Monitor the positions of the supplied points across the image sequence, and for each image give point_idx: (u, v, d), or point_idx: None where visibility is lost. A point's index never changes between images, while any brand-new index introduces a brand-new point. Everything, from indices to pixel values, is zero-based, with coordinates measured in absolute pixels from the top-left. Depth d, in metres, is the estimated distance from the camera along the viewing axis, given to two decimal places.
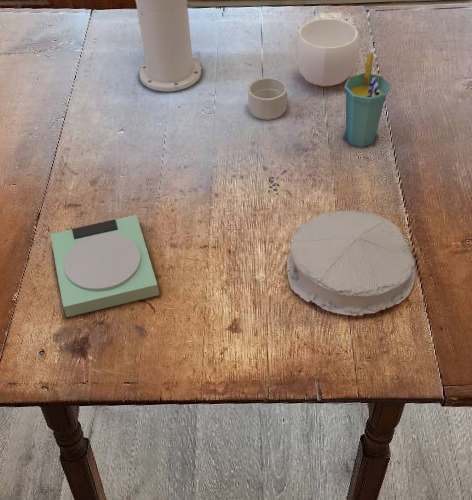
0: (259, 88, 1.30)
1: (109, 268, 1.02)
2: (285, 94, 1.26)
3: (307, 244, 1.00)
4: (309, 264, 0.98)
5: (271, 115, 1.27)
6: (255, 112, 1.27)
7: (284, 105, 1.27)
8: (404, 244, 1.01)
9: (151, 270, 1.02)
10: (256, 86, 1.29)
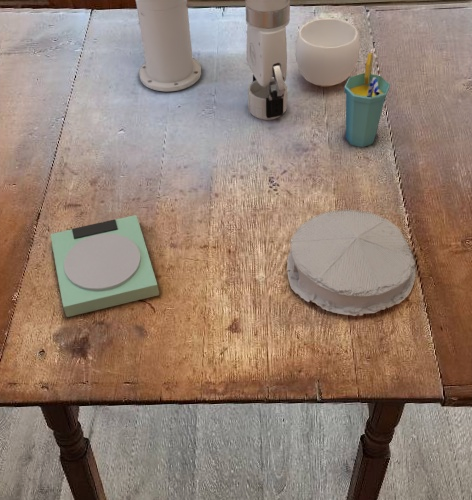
0: (259, 88, 1.30)
1: (109, 268, 1.02)
2: (285, 94, 1.26)
3: (307, 244, 1.00)
4: (309, 264, 0.98)
5: None
6: (255, 112, 1.27)
7: (284, 105, 1.27)
8: (404, 244, 1.01)
9: (151, 270, 1.02)
10: (256, 86, 1.29)
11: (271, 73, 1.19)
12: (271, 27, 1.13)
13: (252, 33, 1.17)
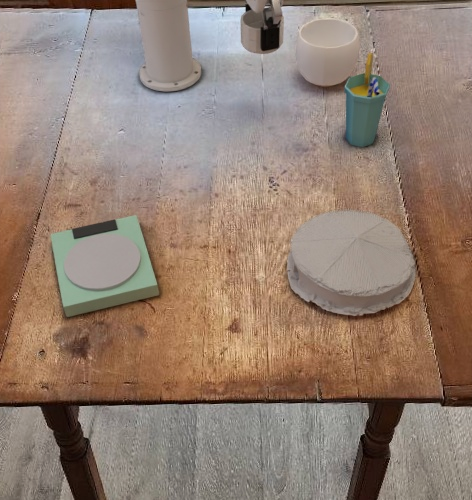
0: (253, 20, 1.18)
1: (109, 268, 1.02)
2: (282, 24, 1.14)
3: (307, 244, 1.00)
4: (309, 264, 0.98)
5: None
6: (249, 45, 1.16)
7: (280, 37, 1.16)
8: (404, 244, 1.01)
9: (151, 270, 1.02)
10: (249, 17, 1.17)
11: None
12: None
13: None
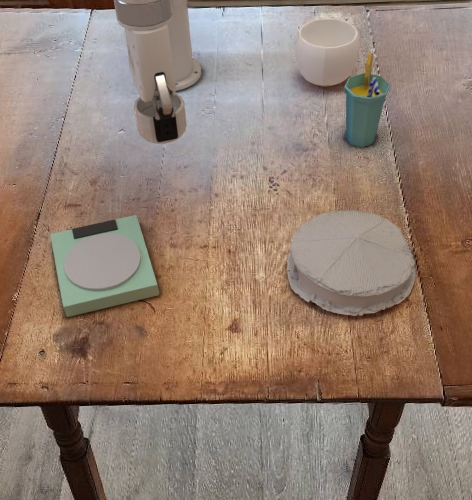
0: (151, 104, 1.02)
1: (109, 268, 1.02)
2: (181, 111, 0.98)
3: (307, 244, 1.00)
4: (309, 264, 0.98)
5: None
6: (144, 134, 1.00)
7: (181, 125, 1.00)
8: (404, 244, 1.01)
9: (151, 270, 1.02)
10: (147, 101, 1.01)
11: (153, 86, 0.91)
12: (147, 25, 0.86)
13: (127, 33, 0.90)
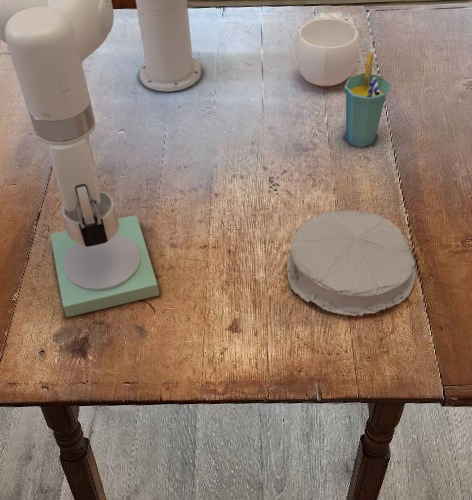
0: None
1: (109, 268, 1.02)
2: (110, 215, 0.94)
3: (307, 244, 1.00)
4: (309, 264, 0.98)
5: None
6: (73, 237, 0.95)
7: (111, 228, 0.95)
8: (404, 244, 1.01)
9: (151, 270, 1.02)
10: (77, 200, 0.97)
11: (75, 197, 0.86)
12: (63, 140, 0.81)
13: None
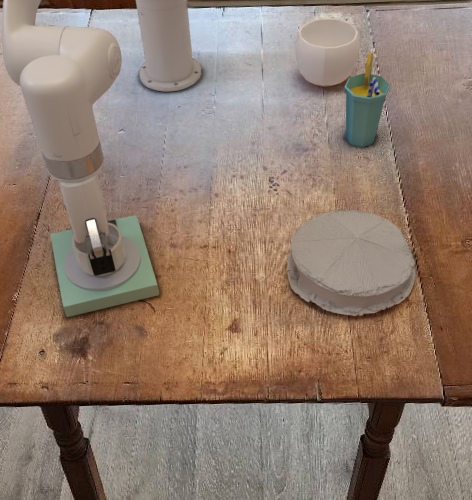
0: None
1: None
2: (118, 247, 0.98)
3: (307, 244, 1.00)
4: (309, 264, 0.98)
5: None
6: (82, 267, 1.00)
7: (119, 259, 1.00)
8: (404, 244, 1.01)
9: (151, 270, 1.02)
10: None
11: (85, 230, 0.91)
12: (74, 178, 0.86)
13: None
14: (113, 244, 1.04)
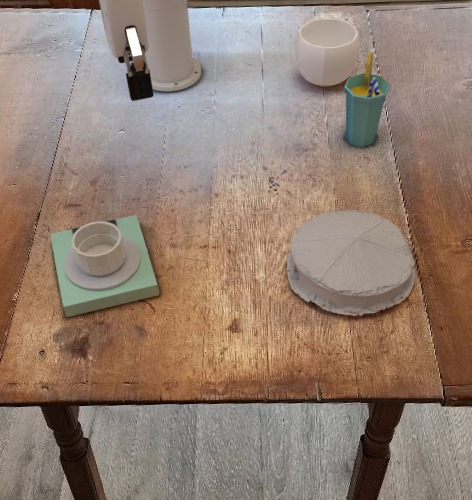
0: (91, 233, 1.02)
1: None
2: (118, 247, 0.98)
3: (307, 244, 1.00)
4: (309, 264, 0.98)
5: (102, 272, 1.00)
6: (82, 267, 1.00)
7: (119, 259, 1.00)
8: (404, 244, 1.01)
9: (151, 270, 1.02)
10: (86, 232, 1.02)
11: (124, 40, 0.87)
12: None
13: None
14: (113, 244, 1.04)
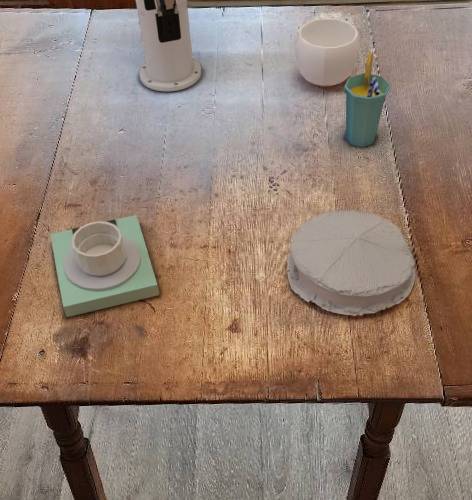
0: (91, 233, 1.02)
1: None
2: (118, 247, 0.98)
3: (307, 244, 1.00)
4: (309, 264, 0.98)
5: (102, 272, 1.00)
6: (82, 267, 1.00)
7: (119, 259, 1.00)
8: (404, 244, 1.01)
9: (151, 270, 1.02)
10: (86, 232, 1.02)
11: None
12: None
13: None
14: (113, 244, 1.04)
